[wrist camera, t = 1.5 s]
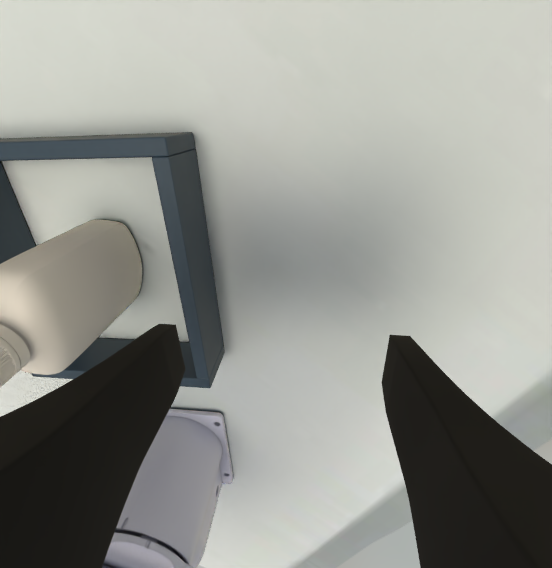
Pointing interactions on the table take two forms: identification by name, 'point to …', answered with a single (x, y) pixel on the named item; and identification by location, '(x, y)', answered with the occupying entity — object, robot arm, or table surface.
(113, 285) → the eye dropper bottle
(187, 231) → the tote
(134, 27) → the table surface
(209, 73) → the table surface
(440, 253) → the table surface
